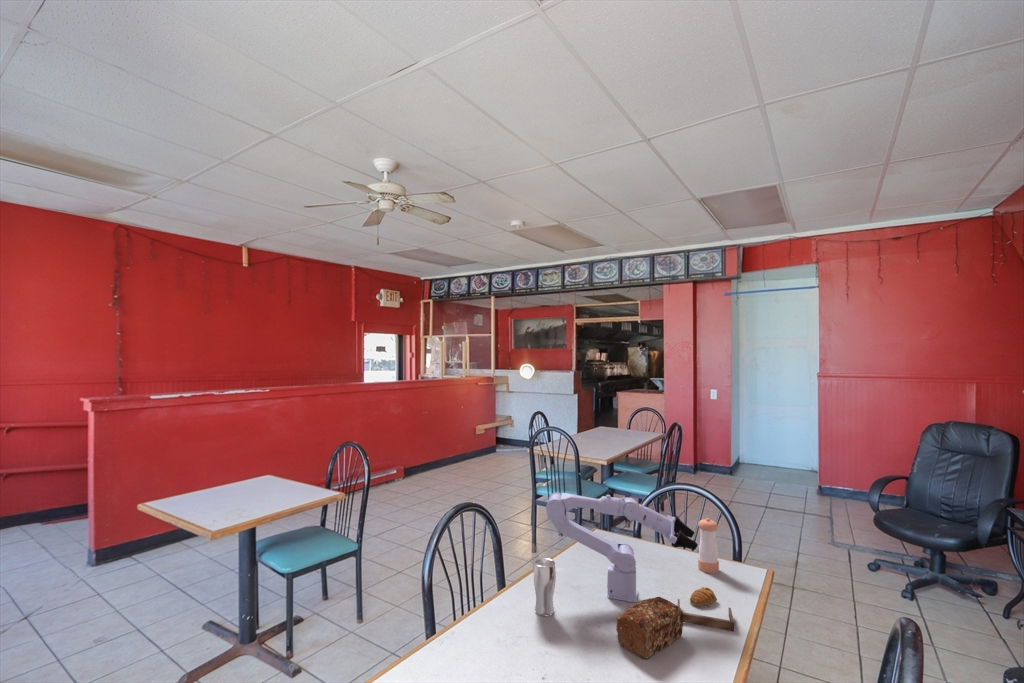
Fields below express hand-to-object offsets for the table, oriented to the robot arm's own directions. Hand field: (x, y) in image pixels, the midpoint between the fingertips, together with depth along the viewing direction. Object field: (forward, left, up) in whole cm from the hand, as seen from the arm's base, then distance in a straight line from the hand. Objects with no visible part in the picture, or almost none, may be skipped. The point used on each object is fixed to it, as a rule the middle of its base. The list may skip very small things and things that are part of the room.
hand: (694, 540), depth 154 cm
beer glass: (-45, -23, -20) cm, 54 cm away
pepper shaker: (+6, +28, -20) cm, 35 cm away
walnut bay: (+2, -10, -20) cm, 22 cm away
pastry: (+3, +1, -20) cm, 20 cm away
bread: (-13, -27, -20) cm, 36 cm away
